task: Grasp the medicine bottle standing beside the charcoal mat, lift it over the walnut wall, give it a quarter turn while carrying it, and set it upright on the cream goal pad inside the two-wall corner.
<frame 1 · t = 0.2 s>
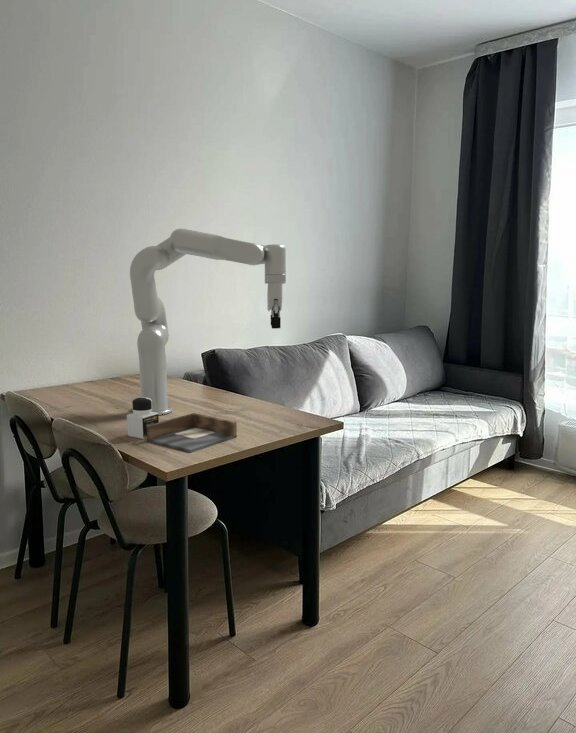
hand: (275, 326, 228), 31 cm above the table, tool pointing down, fingers open, 9 cm apart
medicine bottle: (143, 435, 200), on the table
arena: (192, 439, 196), on the table
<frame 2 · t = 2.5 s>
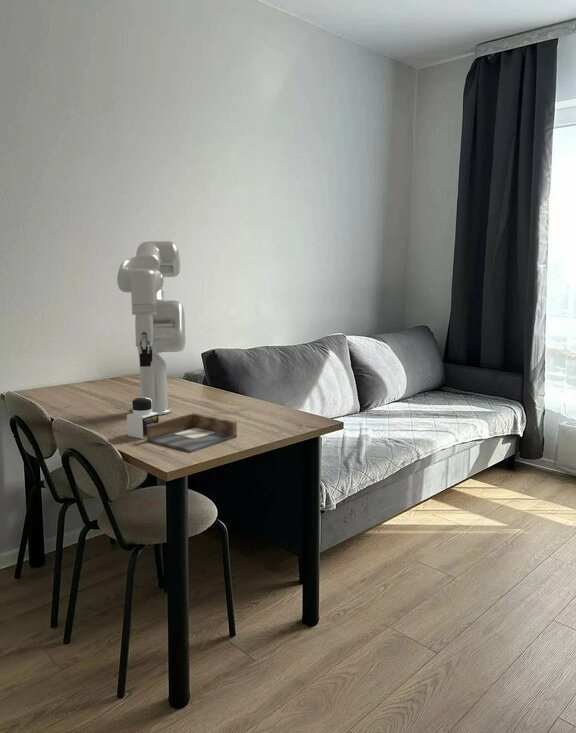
hand: (146, 364, 197), 23 cm above the table, tool pointing down, fingers open, 9 cm apart
nothing on the table moved.
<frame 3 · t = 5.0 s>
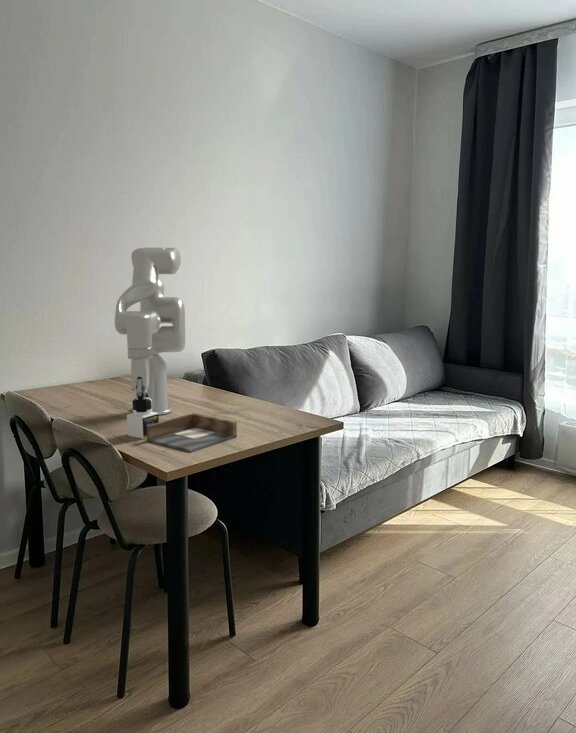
hand: (142, 408, 199), 9 cm above the table, tool pointing down, fingers closed on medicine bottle, 6 cm apart
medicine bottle: (143, 435, 200), on the table, touching gripper
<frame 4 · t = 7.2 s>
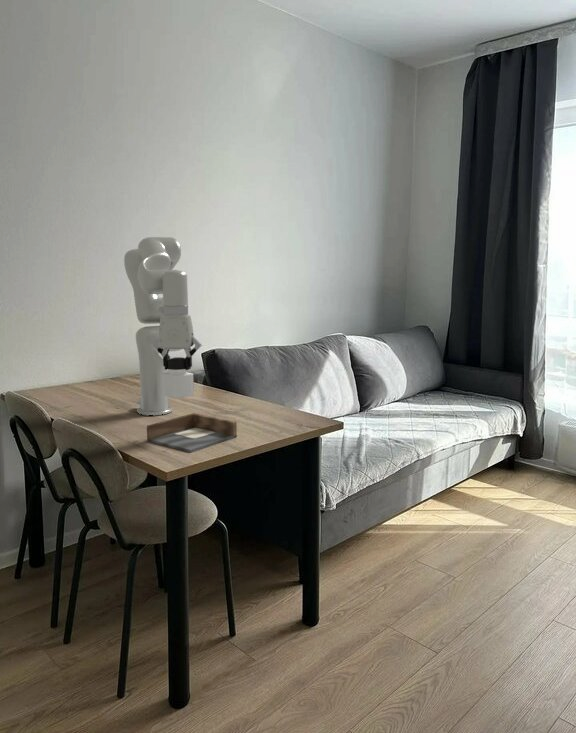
hand: (177, 368, 196), 22 cm above the table, tool pointing down, fingers closed on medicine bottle, 6 cm apart
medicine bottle: (178, 396, 197), point 13 cm above the table, touching gripper
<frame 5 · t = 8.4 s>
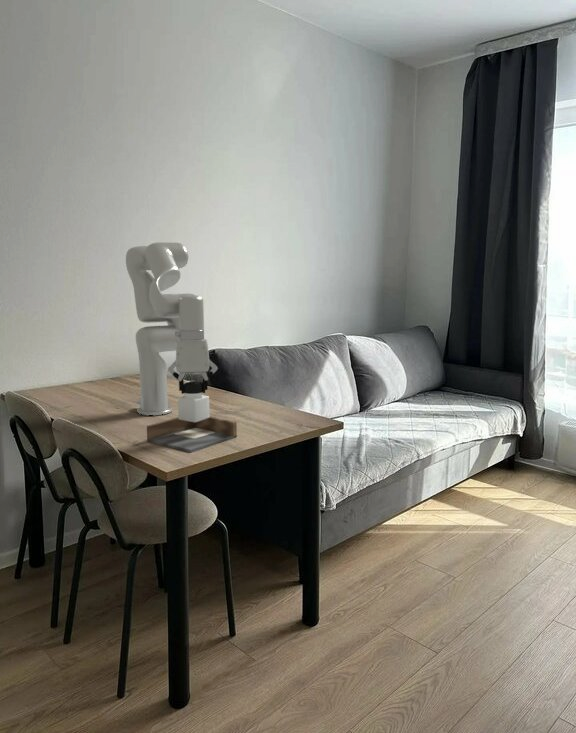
hand: (193, 392, 197), 14 cm above the table, tool pointing down, fingers closed on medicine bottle, 6 cm apart
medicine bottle: (194, 419, 198), point 5 cm above the table, touching gripper
when the fingers open (10 cm above the table, at t = 9.6 s): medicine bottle stays where it is, resting on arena.
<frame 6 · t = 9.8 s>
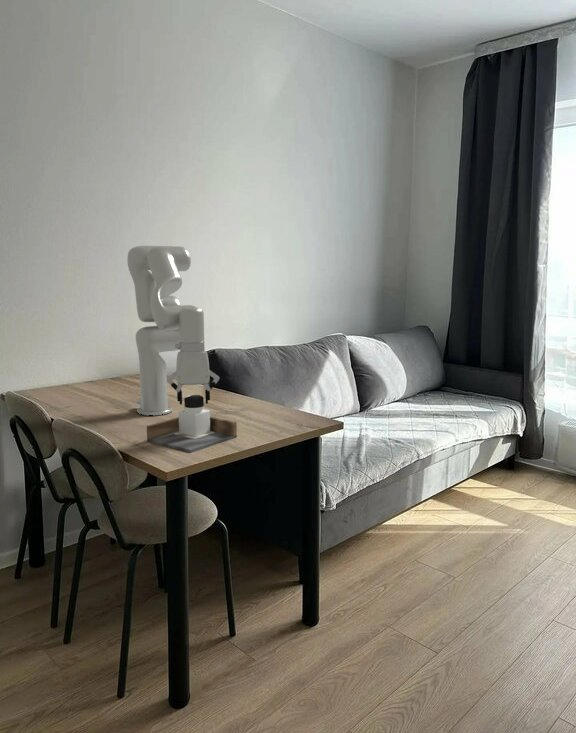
hand: (193, 402, 197), 11 cm above the table, tool pointing down, fingers open, 7 cm apart
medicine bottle: (194, 433, 199), point 1 cm above the table, touching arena
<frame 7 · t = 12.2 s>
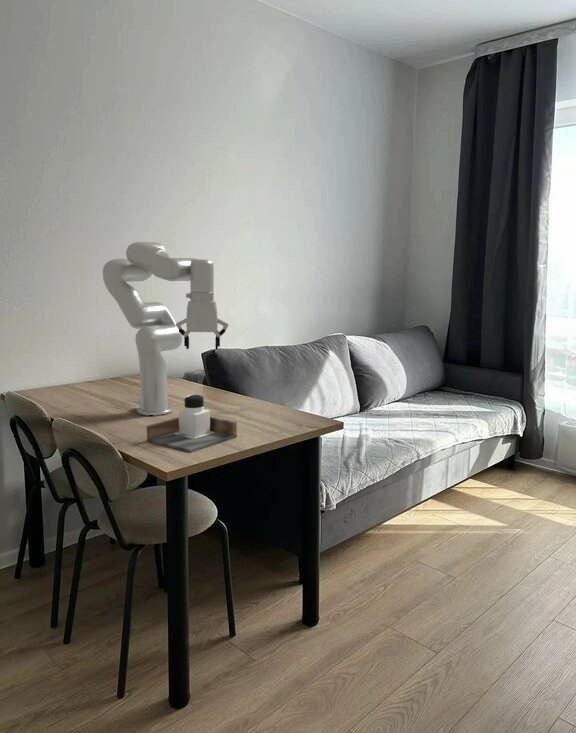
hand: (202, 348, 210), 26 cm above the table, tool pointing down, fingers open, 9 cm apart
nothing on the table moved.
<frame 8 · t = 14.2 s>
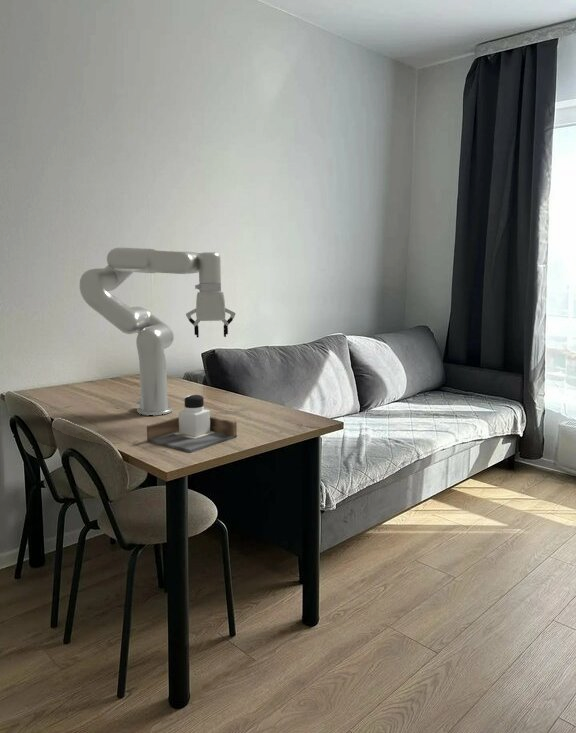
hand: (211, 336, 222), 28 cm above the table, tool pointing down, fingers open, 9 cm apart
nothing on the table moved.
at the end: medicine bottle 0.2 cm from the target spot on the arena, point 0.8 cm above the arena's base; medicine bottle tilted 0°; the gripper is holding nothing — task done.
